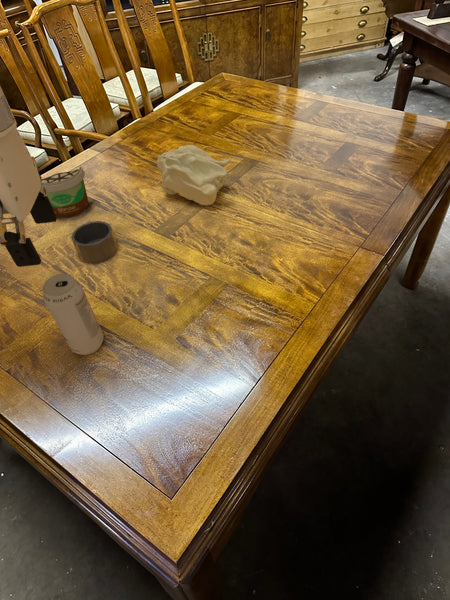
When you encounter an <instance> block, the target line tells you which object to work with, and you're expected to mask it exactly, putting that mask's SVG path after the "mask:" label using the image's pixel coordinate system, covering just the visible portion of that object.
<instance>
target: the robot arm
mask: <svg viewBox="0 0 450 600" xmlns="http://www.w3.org/2000/svg"><path fill="white" fill-rule="evenodd" d="M17 125H18V123H17V120H16V118H15V116H14V114H13V111H12V109H11V106H10V105H9V103H8V100H7V98H6V95H5V93H4V91H3V89H2V87H1V85H0V245H1V246H2V247H5V249H6V251H7V252H8V254H9V256H10V257H11V259H12V260H13V262H14V264H15V265H16V266H17V267H18V268H23V267H33V266H39V265H41V263H42V259H41V257H40V255H39V253H38V251H37V249H36V247H35V245H34V242H33V241H32V239H31V237H27V236H26V229H25V223H24V221H25V220H26V219H27V217H29V215H31V217H32V219H33V221H34V223H35V224H37V225H39V224H48V223H55V222H57V220H58V216H56V214H55V212H54V210H53V207H52V205H51V203H50V201H49V198H48V196H45V195H46V194H47V192H46V189H45V187H44V186H42V182H41V179H43V178H42V176H41V175H42V174H41V173H40V172H39V170H38V169H39V168H38V166H37V161H36V158H35V157H34V156H32V155H31V153H30V151H29V149H28V147H27V145H26V142H24V140H23V137H22V136H21V134H20V132H19V130H18V129H17ZM9 214H10V215H11V217H4V215H9ZM12 216H13V217H12ZM11 224H12V225H13V224H14V227H15V232H14V231H8V227H7V225H11Z"/></svg>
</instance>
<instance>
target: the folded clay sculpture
mask: <svg viewBox="0 0 450 600" xmlns="http://www.w3.org/2000/svg"><path fill="white" fill-rule="evenodd" d="M231 162H232V159H231V158H227V159H224V160H217V159H214V158H213V157H212V156H211V154H210V153H208V152H207V151H205V150H203V149H202V148H199V147H198V146H196V145H194V144H186V145H180V146H178V148H173V149H172V150H171V151H164V152H163V153H162V154H160V155H159V156H157V160H156V168H157V169H158V171H159V172H160V174H161V180H162V181H161V188H162V190H163V191H164V192H165V193H166V194H167V195H170V196H174V195H176V194H178V196H181V197H183V198H185V199H186V200H189V201H193V202H195V203H197V204H198V205H200V206H206V207H207V206H211V205H214V203H215V201H216V199H217V194H218V192H219V191H220V190H221V189H222V187H223V185H224V184H225V183H226V180H227V178H228V176H229V171H228V170H227V169H226V168H225V167H226V166H228V165H229V164H230V163H231Z"/></svg>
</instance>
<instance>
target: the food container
mask: <svg viewBox="0 0 450 600" xmlns="http://www.w3.org/2000/svg"><path fill="white" fill-rule="evenodd" d="M85 176H86V172H85V170H84V168H83V167H82V166H79V168H76V169H73V170H70V171H64V172H63V171H62V172H57V173H54V174H51V175H50V176H47V177H44V178H41V182H42V186H44V187H45V189H46V192H47V194H46V195H45V196H48V198H49V201H50V203H51V205H52V207H53V210H54V212H55V214H56V216H57V218H58V217H59V218H71V217H75V216H78V215H80V214H82V213H84V212H85V211H86V210H87V209H88V207H89V205H90V201H89V197H88V192H87V189H86V183H85V180H84V179H85Z"/></svg>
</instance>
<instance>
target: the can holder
mask: <svg viewBox="0 0 450 600" xmlns="http://www.w3.org/2000/svg"><path fill="white" fill-rule="evenodd" d="M70 239H71V241H72V242H73V246H74V249H75V250H76V253H77V255H78V257H79V259H80V260H81V261H82V262H83V263H86V264H99V263H104V262H106V261H108V260H110V259H111V258H113V257H114V256H115V255H116V253H117V251H118V250H119V249H118V248H119V247H118V241H117V239H116V236H115V233H114V230H113V227H112V225H111V224H110V223H108V222H107V221H102V220H96V221H89V222H86V223H83V224H81V225H80V226H78V227H76V228H75V229H74V231H72V233H71V237H70Z"/></svg>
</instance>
